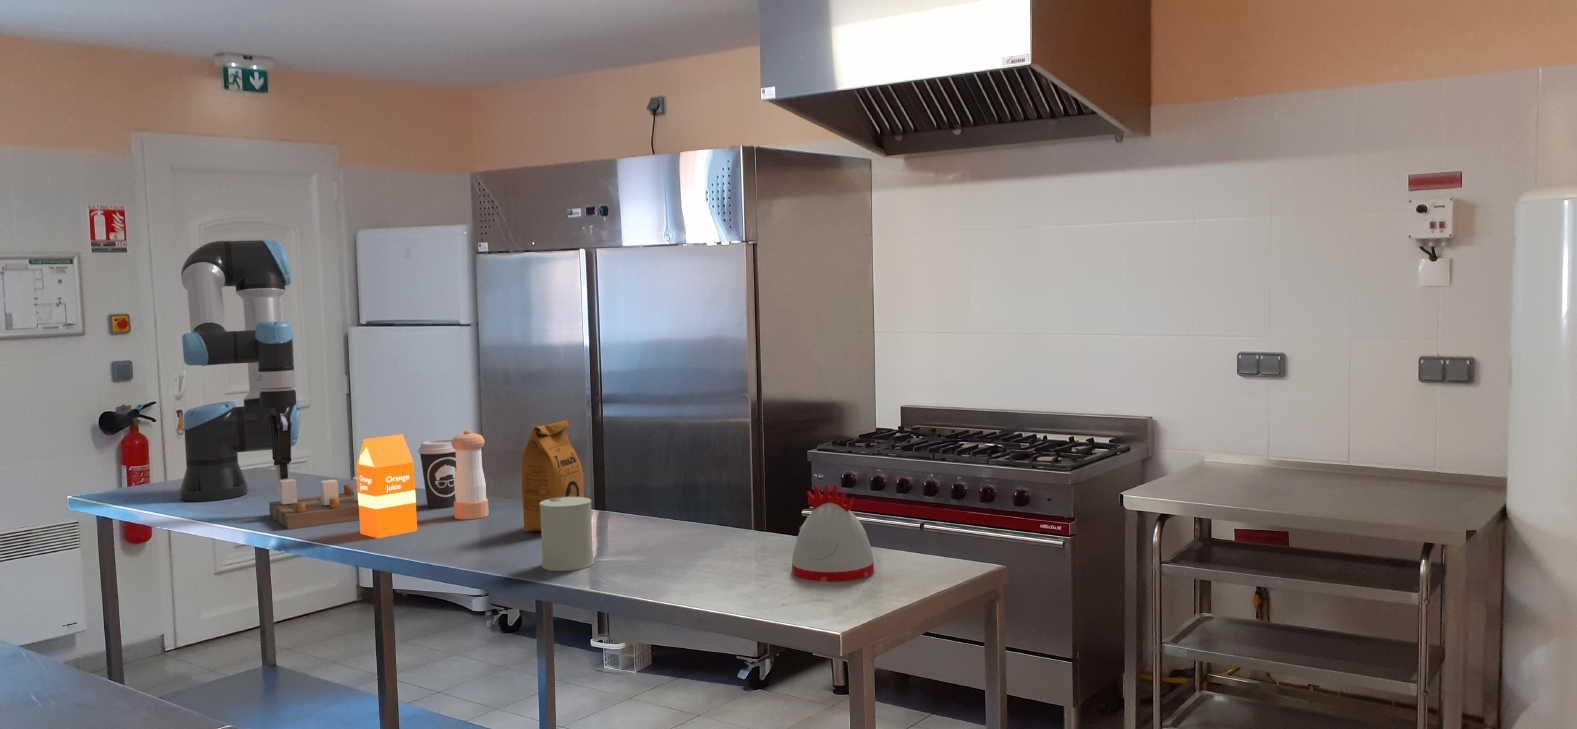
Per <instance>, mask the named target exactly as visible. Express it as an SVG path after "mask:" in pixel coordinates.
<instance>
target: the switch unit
mask: <svg viewBox="0 0 1577 729" xmlns="http://www.w3.org/2000/svg"><path fill="white" fill-rule="evenodd" d="M343 490H344V491H343V492H342V493H338V498H332V499H329V502H330V505H323V504H322V503H321V495H317V496H311V497H310V496H309V497H302V498H297V503H290V504H282V503H280V500H279V501H272V502H271V501H270V502H268V504H269V505H268V506H269V516H270V517H271V518H273V519H274V520H275V521H276V522H278V523H279V524H280V525H281V526H283V527H285V528H286V530H293V529H294V530H295V529H303V528H309V527H315V526H316V527H317V526H322V525H330V524H331V525H332V524H337V523H346V522H352V521H360V516H359V504H358V501H356V500H355V499H354V491H353V484H344V485H343Z"/></svg>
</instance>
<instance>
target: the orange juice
mask: <svg viewBox="0 0 1577 729" xmlns="http://www.w3.org/2000/svg"><path fill="white" fill-rule="evenodd" d="M359 452H360V453H359V455H358V459H357V462H356V477H357V482H358V504H359V516H360V520H359V530H360V532H359V533H360V534H361V535H365V536H369V537H371V538H375V539H381V538H386V537H391V536H397V535H402V534H407V533H412V532H417V531H418V524H417V523H418V522H417V521H418V520H417V505H416V504H417V499H416V498H417V496H416V485H415V484H416V483H415V467H414V466H415V464H414V461H413V457H412V455H411V452H410V450H409V448H408V444H407V442H406V440H405V437H404V434H396V435H388V436H386V435H385V436H380V437H372V438H364V439H363V443H362V446H361V449H360V451H359Z"/></svg>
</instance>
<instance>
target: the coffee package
mask: <svg viewBox="0 0 1577 729" xmlns="http://www.w3.org/2000/svg"><path fill="white" fill-rule="evenodd" d="M569 428H570V424H569V422H568V420H566V419H565V420H562V421H557V422H554V423H549V424H544V425H537V426H534V427H533V429H532V432H531V433H530V436H529V438H528V441H527V444H526V445H525V447H524V451H523V454H522V460H521V462H522V463H521V495H522V496H521V499H522V512H523V528H524V531H525V532H527V533H529V532H530V533H533V532H534V533H535V532H536V533H537V532H538V533H539V532H540V533H541V516H540V505H539V503H540V502H541V501H544V500H547V499H552V498H560V497H585V493H584V473H583V472H584V471H583V468H582V464H581V461H580V458H579V456H578V454H577V453H576V451H575V449H574V448H573V446H572V445H571V442H570V440H569V436H568V434H567V433H566V430H567V429H569Z"/></svg>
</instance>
